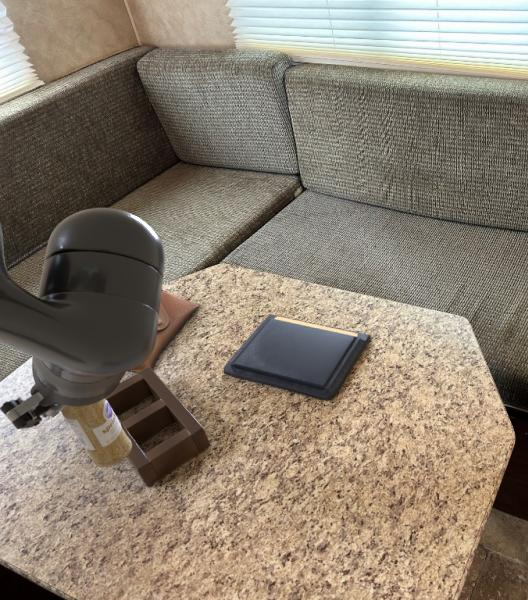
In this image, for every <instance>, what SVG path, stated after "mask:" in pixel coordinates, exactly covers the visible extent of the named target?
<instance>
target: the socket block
mask: <svg viewBox="0 0 528 600" xmlns="http://www.w3.org/2000/svg"><path fill="white" fill-rule="evenodd" d="M151 397H153V398H154V400H155V401H154V402H153V403H151V404H149V405H147V406H146V407H145V408H142V409H141V410H139V411H138V412H136V413H134V414H133V415H131V416H129V417H128V418H125V420H123V421H121V420H120V418H119V416H121V415H122V414H124V413H126V412H128V411H129V410H130V409H133V408H134V407H136V406H137V405H139V404H141V403H142V402H145V401H146V400H148V399H149V398H151ZM105 399H106V400H107V401H108V403H109V405H110V406H111V408H112V410H113V411H114V413H115V415H116V417H117V418H118V420H119V422H120V424H121V427H122V429H123V430H124V432H125V434H126V435H127V437H128V438H129V439H130V440H131V443H132V448H131V451H130V453H129V454H128V456H127V457H126V459H127V460H128V461H129V463H130V464H131V466H132V467H133V469H134V471H135V472H136V473H137V474H138V476H139V478H140V479H141V480H142V482H143V483H144V484H145V486H146V487H147V488H150V487H151V486H152V485H154V484H156V483H157V482H158V481H160V480H162V479H163V478H165V477H166V476H167V475H169V474H170V473H172V472H173V471H176V470H177V469H178V468H179V467H181V466H183V465H184V464H185V463H187V462H189V461H190V460H191V459H193V458H194V457H196V456H197V455H199V454H200V453H202V452H204V451H205V450H207V449H208V448H209V447H211V446H212V445H211V442H210V440H209V437H208V435H207V433H206V431H205V429H204V427H203V426H202V424H201V423H200V422H199V421H198V420H197V419H196V418H195V417H194V414H193V415H192V413H191V412H190V411H189V409H188V408H187V407H186V406H185V404H183V403H182V401H180V399H179V398H178V397H177V396H176V395H175V393H174V392H173V391H172V390H171V389H170V387H169V386H168V385H167V384H166V383H165V382H164V381H163V380H162V378H160V377H159V376H158V374H157V373H156V372H155V370H154V369H153V368H152V369H151V367H148V368H146V369H144V370H142V371H141V372H139V373H138V372H136V373H135V374H133V375H132V376H130V377H128V378H126V379H125V380H123V381H121V382H120V383H119V385H118V386H117V388H116V389H115V390H114V391H113V392H112V393H111V394H110V395H109V396H107V397H106V398H105ZM174 424H175V425H176V426H177V427H178V429H179V430H180V431H178V432H177V433H175V434H173V435H172V436H170V437H169V438H167V439H166V440H164V441H162V442H161V443H159V444H158V445H157V446H154V447H153V448H152V449H150V450H148V451H147V452H146V453H145V452H144V451H143V449H141V447H140V446H141V445H142V444H143V443H145V442H147V441H148V440H150V439H152V438H153V437H155V436H156V435H158V434H159V433H161V432H163V431H164V430H166V429H167V428H169V427H171V426H172V425H174Z"/></svg>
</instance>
